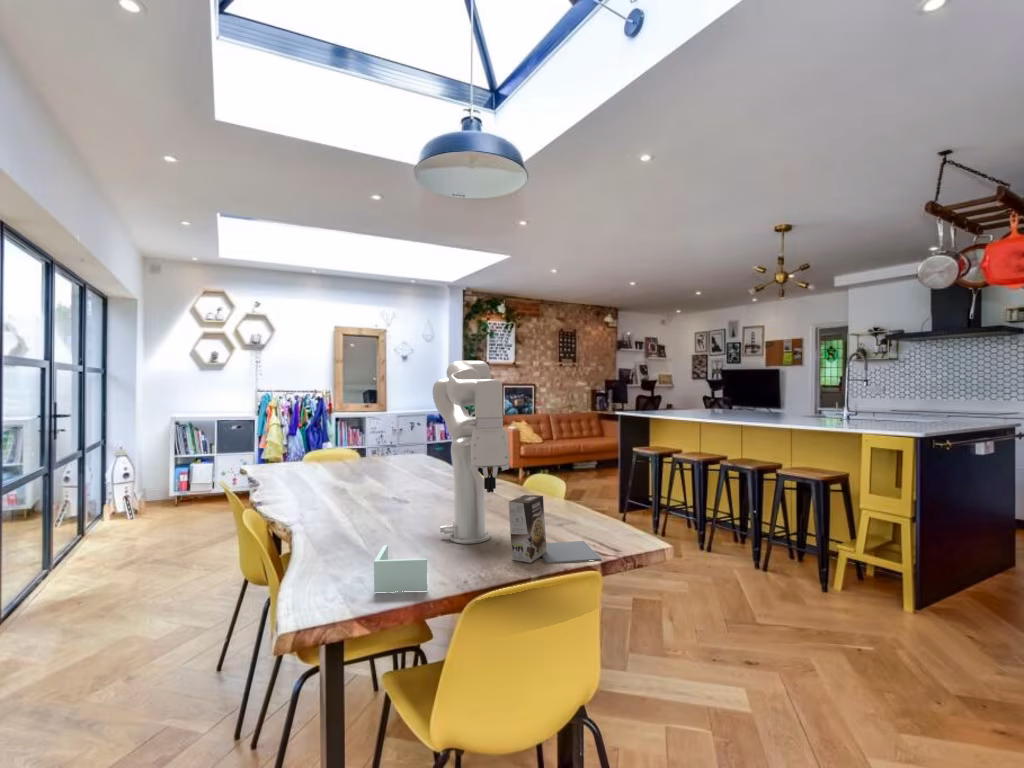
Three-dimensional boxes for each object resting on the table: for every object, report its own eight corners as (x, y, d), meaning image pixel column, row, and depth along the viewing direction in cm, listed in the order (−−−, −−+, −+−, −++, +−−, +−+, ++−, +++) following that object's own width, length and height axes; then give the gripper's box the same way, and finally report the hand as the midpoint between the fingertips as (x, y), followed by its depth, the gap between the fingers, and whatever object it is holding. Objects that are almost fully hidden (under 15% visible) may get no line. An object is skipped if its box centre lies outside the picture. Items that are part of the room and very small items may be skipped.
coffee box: (531, 563, 134) (527, 502, 134) (511, 560, 138) (507, 501, 138) (547, 552, 142) (544, 495, 142) (528, 549, 145) (524, 493, 145)
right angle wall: (426, 592, 117) (426, 559, 117) (374, 594, 116) (373, 561, 116) (431, 573, 129) (431, 543, 129) (383, 574, 128) (383, 545, 128)
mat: (547, 564, 135) (547, 562, 135) (535, 545, 150) (534, 543, 150) (601, 560, 137) (601, 558, 137) (583, 542, 153) (583, 540, 153)
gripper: (462, 425, 133) (463, 495, 133) (518, 424, 136) (519, 493, 135) (460, 424, 141) (461, 490, 140) (513, 422, 143) (514, 487, 143)
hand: (490, 491), depth 138 cm, fingers closed
